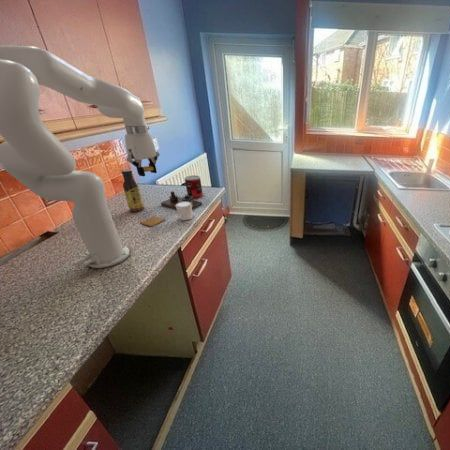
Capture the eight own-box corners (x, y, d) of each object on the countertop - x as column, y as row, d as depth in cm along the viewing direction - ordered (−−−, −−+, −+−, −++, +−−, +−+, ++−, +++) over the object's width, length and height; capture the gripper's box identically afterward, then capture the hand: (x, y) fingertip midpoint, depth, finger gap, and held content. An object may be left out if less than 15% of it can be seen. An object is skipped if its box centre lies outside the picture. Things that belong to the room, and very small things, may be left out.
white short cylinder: (183, 222, 114) (180, 208, 111) (175, 217, 118) (172, 204, 115) (196, 217, 119) (194, 203, 116) (188, 213, 123) (186, 200, 120)
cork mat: (151, 226, 110) (151, 225, 110) (140, 223, 112) (140, 222, 112) (164, 220, 115) (164, 219, 115) (153, 217, 118) (153, 216, 118)
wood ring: (187, 202, 125) (187, 200, 124) (180, 200, 126) (179, 198, 126) (195, 198, 129) (194, 196, 128) (187, 197, 130) (187, 195, 130)
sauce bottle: (137, 212, 121) (125, 173, 112) (126, 211, 122) (113, 171, 113) (147, 207, 127) (136, 169, 118) (137, 206, 128) (125, 168, 119)
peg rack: (187, 211, 124) (185, 199, 121) (161, 205, 130) (158, 193, 127) (202, 204, 132) (200, 193, 129) (176, 198, 138) (174, 187, 135)
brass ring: (146, 172, 105) (145, 169, 105) (137, 170, 107) (137, 168, 106) (156, 169, 109) (155, 167, 109) (148, 168, 111) (147, 165, 111)
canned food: (187, 194, 144) (184, 176, 139) (202, 192, 147) (199, 174, 142) (188, 199, 138) (184, 180, 133) (203, 197, 141) (200, 178, 136)
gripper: (149, 127, 109) (158, 168, 117) (109, 131, 95) (123, 177, 103) (161, 129, 106) (170, 170, 115) (122, 133, 92) (135, 180, 101)
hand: (148, 173), depth 109 cm, fingers closed on brass ring, 5 cm apart
